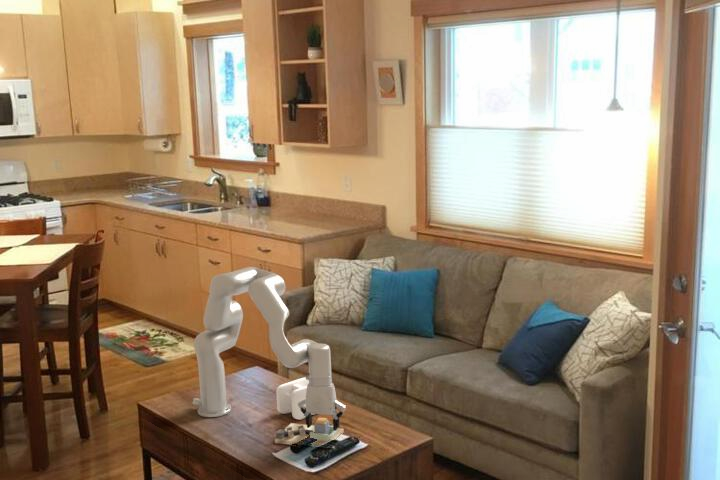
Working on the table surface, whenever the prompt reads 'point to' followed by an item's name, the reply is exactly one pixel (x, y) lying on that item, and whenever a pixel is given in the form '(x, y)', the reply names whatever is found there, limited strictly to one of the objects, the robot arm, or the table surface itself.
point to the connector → (322, 426)
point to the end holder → (323, 435)
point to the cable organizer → (292, 397)
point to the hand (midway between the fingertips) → (322, 427)
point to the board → (297, 438)
